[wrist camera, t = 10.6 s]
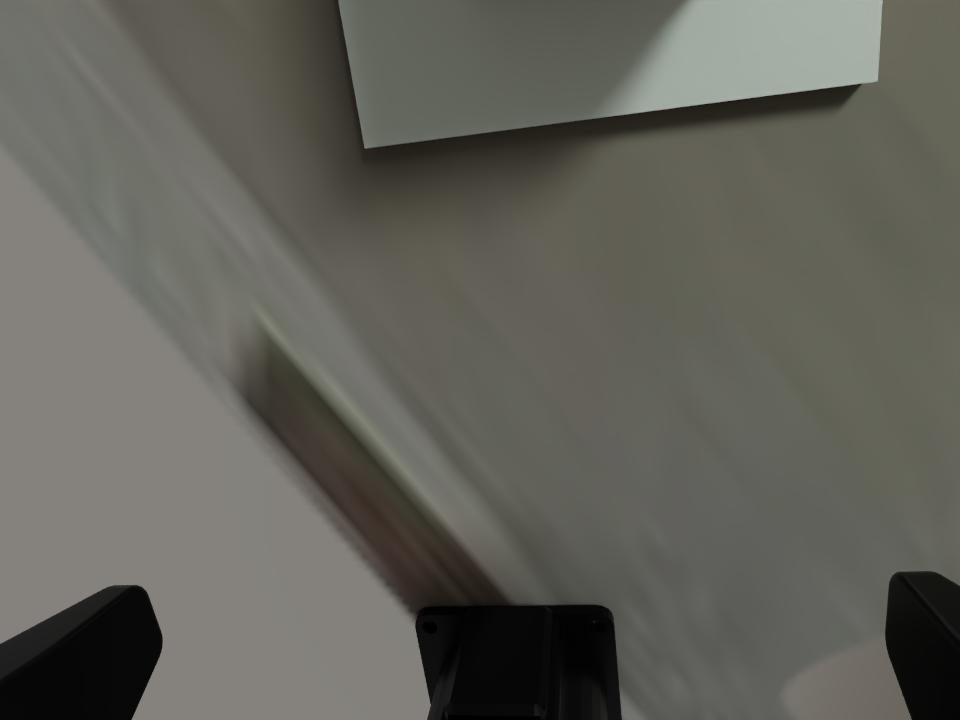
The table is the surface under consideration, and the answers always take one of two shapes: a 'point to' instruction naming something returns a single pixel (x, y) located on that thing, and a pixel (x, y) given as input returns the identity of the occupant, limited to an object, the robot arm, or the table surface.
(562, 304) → the table surface
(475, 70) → the board
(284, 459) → the table surface
